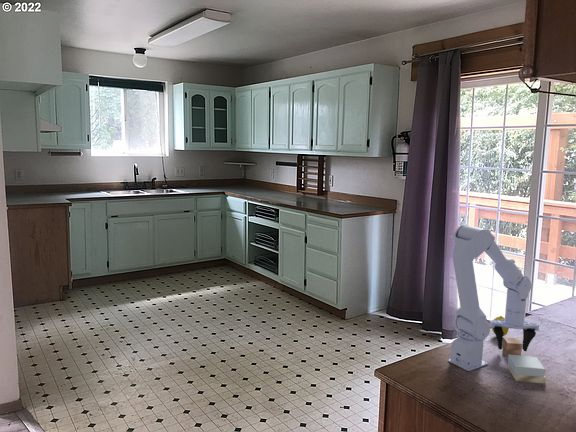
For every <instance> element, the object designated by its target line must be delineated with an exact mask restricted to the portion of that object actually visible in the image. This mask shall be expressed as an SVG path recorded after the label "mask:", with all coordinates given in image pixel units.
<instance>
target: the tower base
mask: <svg viewBox="0 0 576 432" xmlns="http://www.w3.org/2000/svg"><path fill="white" fill-rule="evenodd" d="M507 365H508V366H507V368H508V370H509V372H510V374H511V373H512V374H511V375H512V377H513V379H514V380H515V382H524V383H525V382H526V383H535V384H546V379H547V378H546V377H547V376H545V375H544V377H538V376H528V375H517V374H514V372H513V370H512V369H511V367H510V365H509V363H508V364H507Z"/></svg>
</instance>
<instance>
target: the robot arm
mask: <svg viewBox="0 0 576 432" xmlns="http://www.w3.org/2000/svg"><path fill="white" fill-rule="evenodd" d="M452 236H453V243H454V247H453V251H452V261H453V269H454V274H455V280H456V281H455V282H456V287H457V292H458V293H457V294H458V300H459V307H458V308H457V309H456V310H455V318H454V326H455V327H456V329H457V333H458V337H457V338H455V339H454V340H453V341H452V342H451V347H450V358H449V359H448V360H447V361H448V362H449V363H451V364H453V365H455V366H457V367H459V368H461V369H463V370H465V371H467V372H470V371H474V370H476V369H478V368H482V367H484V366H487V365H488V364H489V363H488V362H487V361H484V359H483V350H484V342H485V341H484V340H486V338H487V337H488V336H489V335H490V333H491V329H492V328H493V329H494V332H495V334H494V335H495V337H496V341H497V348H498V350H502V351H503V338H504V336H503V334H504V332H503V329H502V328H509V329H513V330H523V331H522V332H523V333H522V351H523V352H528V348H529V346H530V343H531V341H532V340H533V339H534V338H535V337H536V334H537V332H539V329H540V328H539V327H540V325H539V324H538V323H537V322H530V321H525V318H526V317H525V316H526V315H525V314H526V306H527V304H526V303H527V299H528V297H529V293H530V292H531V290H532V288H533V284H532V281H531V280H530V278H529V277H528V276H526V275H524V274H523V271H522V270H521V269H519V268H518V266H517V265H516V261H515V259H513V258H510V257H506V256H505V254H504V253H503V252H502V250H501V249H500V247H499V245H498V244H497V242H496V241H495V239H496V237H495V236H494V234H492V232H491V231H490V230H489V229H487V228H480V227H476V226H472V225H471V226H470V225H469V224H460V226H458V227H457V229H455V232H453V235H452ZM483 253H486V255H487V256H488V257H489V258H490V260H492V261H493V263H494V269H495V271H496V272H497V274H498V275H499V276H500V277H501V278H502V280H503V283H502V284H503V286H504V287H505V288H506V289H507V291H506V300H505V301H506V302H505V303H506V304H505V314H504V315H505V316H504V318H505V320H494V319H490V320H489V321H488V320H487V315H486V314H485V313H484V311H483V310H482V309H481V307H480V302H479V295H478V288H477V282H476V275H475V269H474V267H475V266H474V260H475V259H478V258H479V257H480V256H481V255H482V254H483ZM494 332H493V333H494Z"/></svg>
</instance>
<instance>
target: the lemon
mask: <svg viewBox="0 0 576 432" xmlns="http://www.w3.org/2000/svg"><path fill="white" fill-rule="evenodd" d="M493 320H505V316H504V317H503V315H500V316H497V317H495V318H494V319H493ZM502 329H503V332H504V334H503V337H506V335H507V334H508V332H509V330H510V328H502ZM491 330H492V332H493V334H494V335H495V332H494V329H493V328H491Z"/></svg>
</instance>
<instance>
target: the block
mask: <svg viewBox="0 0 576 432" xmlns="http://www.w3.org/2000/svg"><path fill="white" fill-rule="evenodd" d="M522 344H523V342H521V340H520V339H519V338H517V337H516V338H515V337H506V336H503V339H502V353H503V355H504V356H505V358H508V354H510V355H521V356H522V351H523V349H522Z"/></svg>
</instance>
